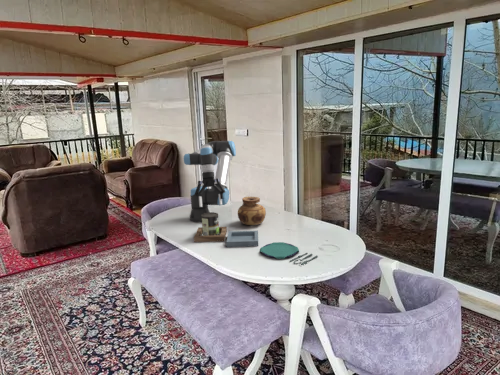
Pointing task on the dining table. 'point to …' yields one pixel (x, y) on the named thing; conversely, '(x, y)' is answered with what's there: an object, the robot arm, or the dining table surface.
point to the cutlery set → (283, 251)
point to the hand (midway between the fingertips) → (210, 205)
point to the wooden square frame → (210, 237)
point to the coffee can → (210, 224)
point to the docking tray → (242, 238)
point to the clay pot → (251, 211)
